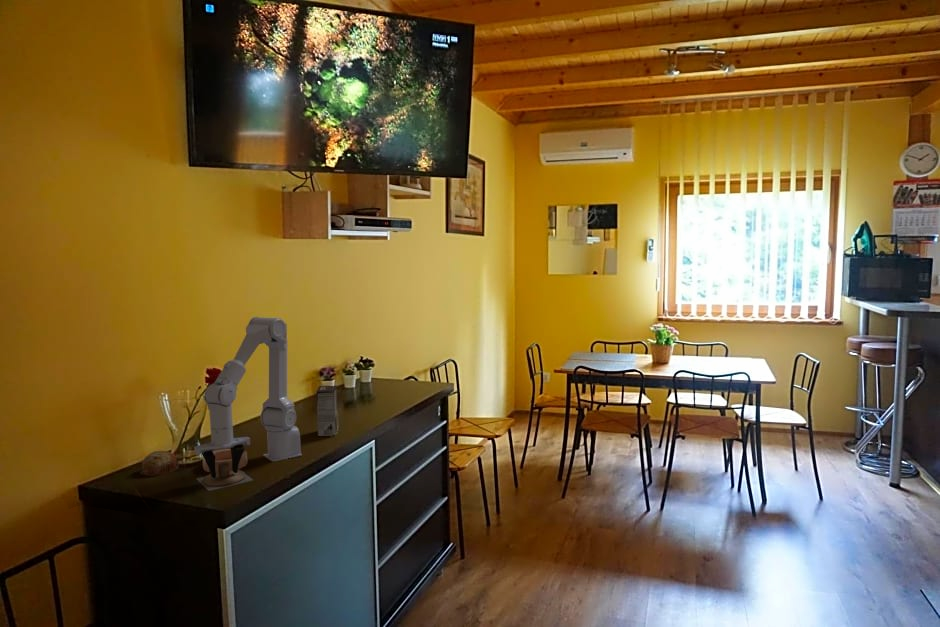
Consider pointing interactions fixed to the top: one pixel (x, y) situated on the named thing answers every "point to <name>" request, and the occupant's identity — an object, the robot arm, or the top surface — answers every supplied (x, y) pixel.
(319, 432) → the coffee box
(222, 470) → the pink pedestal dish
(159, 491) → the top surface
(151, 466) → the bread roll
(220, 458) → the bowl
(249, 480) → the mat
